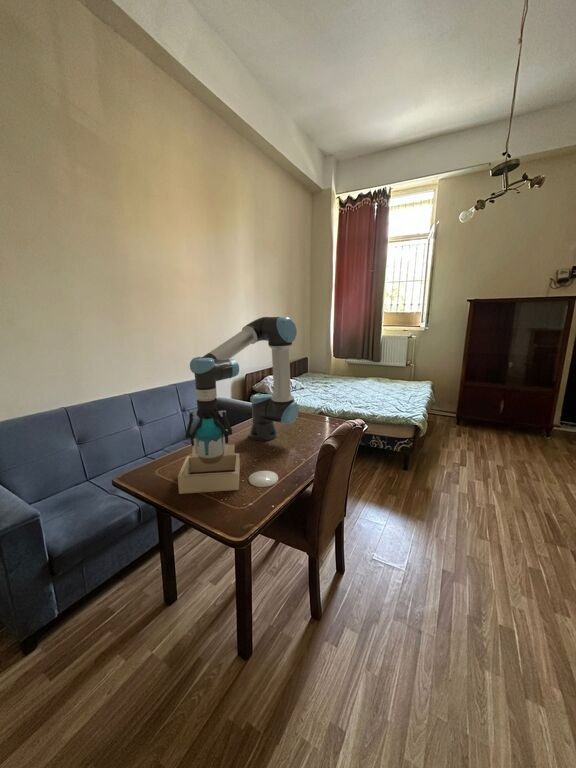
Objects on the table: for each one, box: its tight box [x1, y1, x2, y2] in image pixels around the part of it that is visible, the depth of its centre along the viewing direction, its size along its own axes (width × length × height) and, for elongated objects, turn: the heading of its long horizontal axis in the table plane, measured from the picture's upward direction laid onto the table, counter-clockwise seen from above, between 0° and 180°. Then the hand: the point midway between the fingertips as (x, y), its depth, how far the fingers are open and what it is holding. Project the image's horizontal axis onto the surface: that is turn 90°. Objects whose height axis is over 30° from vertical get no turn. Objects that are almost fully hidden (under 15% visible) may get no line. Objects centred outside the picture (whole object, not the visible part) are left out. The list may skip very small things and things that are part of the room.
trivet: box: [248, 470, 279, 488], centre depth 128 cm, size 12×12×1 cm
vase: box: [195, 418, 224, 464], centre depth 124 cm, size 11×11×19 cm
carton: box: [177, 444, 241, 495], centre depth 126 cm, size 25×22×10 cm
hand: (210, 451), depth 125 cm, fingers closed on vase, 10 cm apart
